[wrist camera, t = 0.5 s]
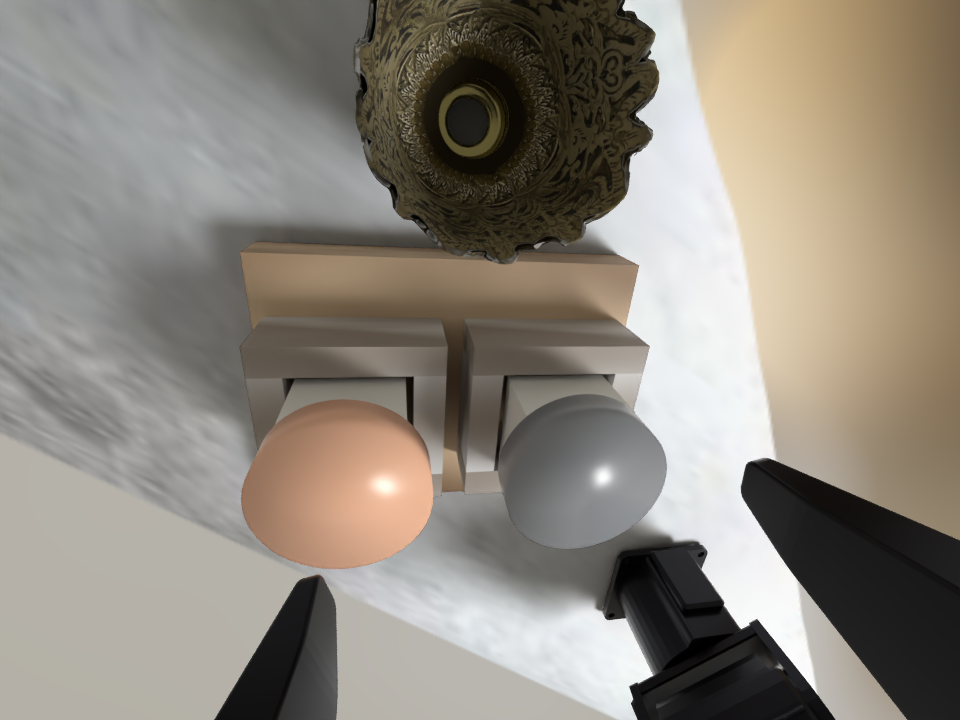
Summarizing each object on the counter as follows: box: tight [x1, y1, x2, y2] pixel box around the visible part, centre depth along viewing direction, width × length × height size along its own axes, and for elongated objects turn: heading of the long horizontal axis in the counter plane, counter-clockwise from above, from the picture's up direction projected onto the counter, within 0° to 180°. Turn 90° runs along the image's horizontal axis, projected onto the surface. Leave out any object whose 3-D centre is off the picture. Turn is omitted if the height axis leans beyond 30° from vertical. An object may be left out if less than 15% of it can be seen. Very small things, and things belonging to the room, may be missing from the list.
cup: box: [354, 0, 659, 265], centre depth 14 cm, size 8×7×8 cm
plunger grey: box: [498, 375, 667, 549], centre depth 17 cm, size 6×6×4 cm
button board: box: [240, 242, 650, 496], centre depth 20 cm, size 12×16×5 cm
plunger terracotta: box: [241, 378, 433, 569], centre depth 16 cm, size 6×6×4 cm
